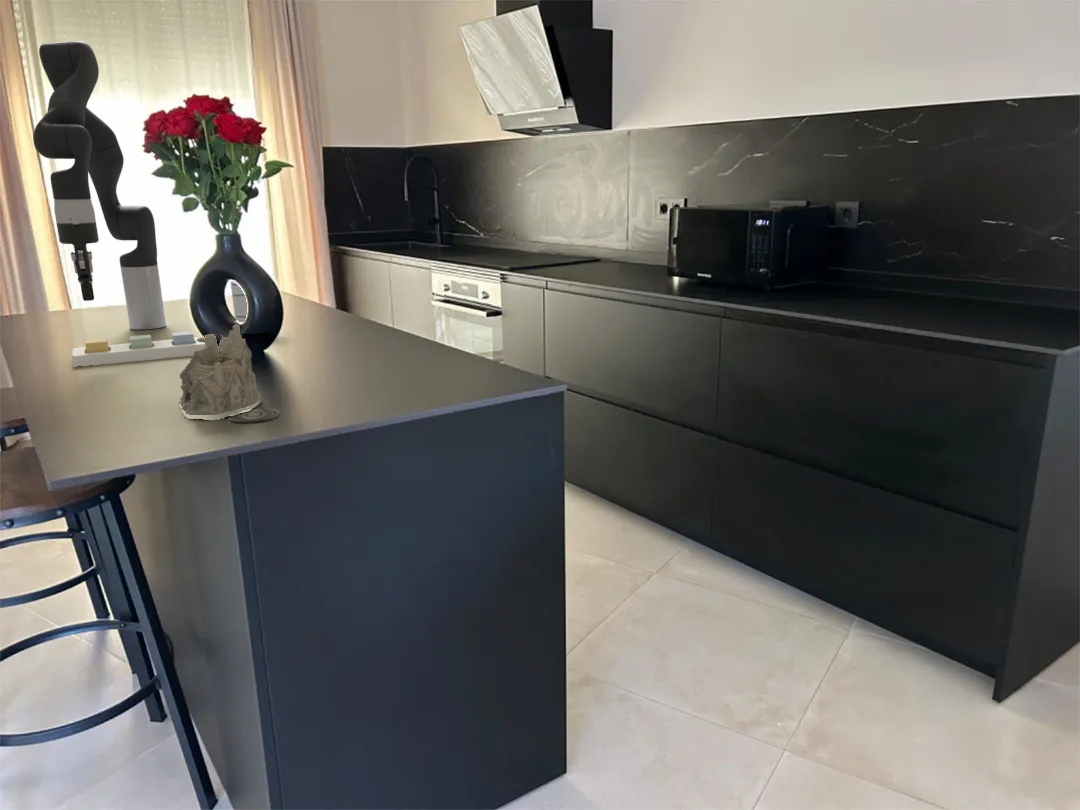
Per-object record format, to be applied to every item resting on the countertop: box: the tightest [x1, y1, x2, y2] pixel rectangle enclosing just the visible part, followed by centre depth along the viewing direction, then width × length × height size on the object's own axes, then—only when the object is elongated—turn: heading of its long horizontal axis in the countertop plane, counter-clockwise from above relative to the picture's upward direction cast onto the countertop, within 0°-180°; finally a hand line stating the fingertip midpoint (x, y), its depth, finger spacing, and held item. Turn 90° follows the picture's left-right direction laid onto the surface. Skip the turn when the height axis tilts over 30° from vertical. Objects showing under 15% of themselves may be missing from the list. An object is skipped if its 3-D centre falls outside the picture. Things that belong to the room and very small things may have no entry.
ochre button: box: [84, 337, 109, 353], centre depth 176 cm, size 4×4×3 cm
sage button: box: [129, 334, 153, 349], centre depth 180 cm, size 4×4×3 cm
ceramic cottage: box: [178, 323, 261, 415], centre depth 138 cm, size 16×16×15 cm
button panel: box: [71, 335, 219, 368], centre depth 182 cm, size 10×32×3 cm, turn 119°
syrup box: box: [230, 280, 247, 322], centre depth 207 cm, size 6×6×14 cm
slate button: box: [171, 330, 195, 345], centre depth 184 cm, size 4×4×3 cm
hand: (88, 300), depth 173 cm, fingers closed
